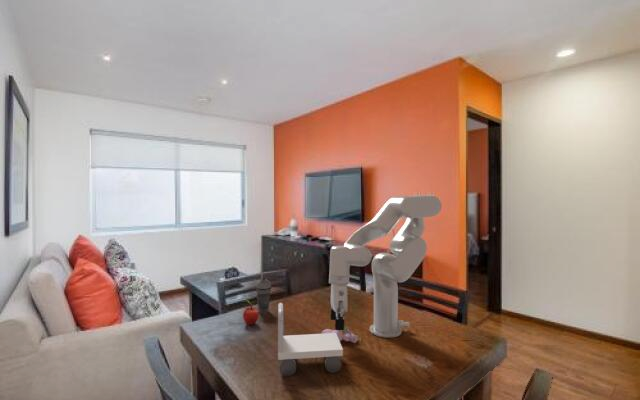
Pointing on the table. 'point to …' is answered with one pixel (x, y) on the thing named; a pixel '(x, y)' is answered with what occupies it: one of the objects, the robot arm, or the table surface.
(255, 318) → the apple
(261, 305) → the beverage cup
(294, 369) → the trolley
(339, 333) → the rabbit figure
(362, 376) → the table surface
